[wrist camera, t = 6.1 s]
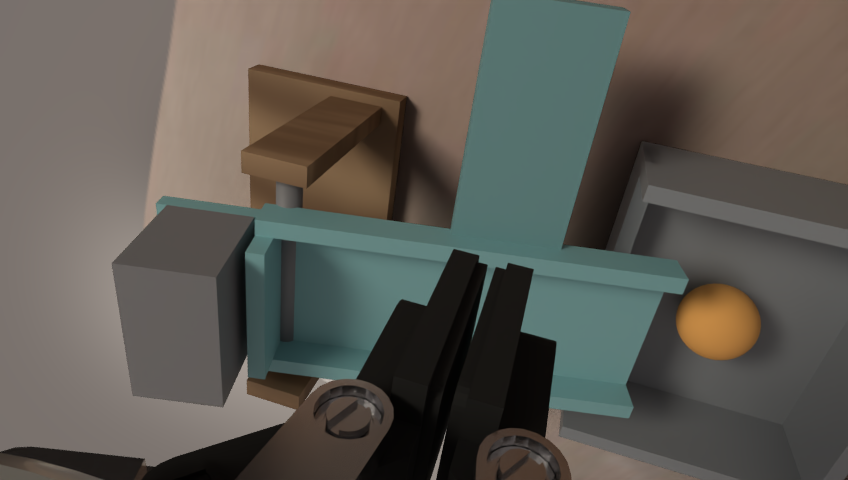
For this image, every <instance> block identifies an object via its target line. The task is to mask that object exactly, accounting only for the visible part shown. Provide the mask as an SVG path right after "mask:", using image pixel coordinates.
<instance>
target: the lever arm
mask: <svg viewBox="0 0 848 480" xmlns="http://www.w3.org/2000/svg"><path fill="white" fill-rule="evenodd" d="M629 15H630V11H628V10H627V9H625V8H623V7H616V6H610V5H603V4H596V3H590V2H583V1H576V0H491V4H490V10H489V15H488V21H487V27H486V32H485V38H484V43H483V49H482V55H481V60H480V66H479V71H478V77H477V83H476V88H475V94H474V99H473V105H472V111H471V116H470V122H469V128H468V133H467V139H466V144H465V150H464V156H463V161H462V167H461V172H460V178H459V184H458V189H457V195H456V201H455V206H454V212H453V217H452V223H451V229H448V228H441V227H434V226H426V225H419V224H412V223H405V222H398V221H390V220H383V219H376V218H369V217H362V216H354V215H347V214H340V213H333V212H326V211H319V210H311V209H304V208H303V188H301V187H297V186H293V185H289V184H285V183H281V182H277V181H276V205H275V204H268V203H265V204H264V206H263V207H262V209H255V208H248V207H240V206H233V205H226V204H219V203H212V202H204V201H197V200H190V199H183V198H176V197H168V196H163V197H162V198H161V199H160V200H159V201H158V202H157V203H156V209H157V216H156V217H155V218H154V219H153V220H152V221H151V222H150V223H149V224H148V225H147V227H146V228H145V229H144V230H143V231H142V232H141V233H140V234H139V235H138V236H137V237H136V238H135V239H134V240H133V241H132V243H130V245H129V246H128V247H127V248H126V249H125V250H124V251H123V252H122V253H121V254H120V255H119V256H118V257H117V258H116V259H115V260H114V262H113V263H112V269H113V275H114V281H115V287H116V293H117V300H118V306H119V312H120V319H121V325H122V331H123V338H124V344H125V350H126V356H127V362H128V369H129V375H130V381H131V388H132V394H133V396H140V397H147V398H155V399H163V400H171V401H178V402H186V403H193V404H201V405H209V406H217V407H223V406H224V404H225V402H226V399H227V397H228V395H229V393H230V391H231V389H232V386H233V384H234V382H235V380H236V378H237V376H238V373H239V371H240V369H241V367H242V365H243V363H244V360H245V358H246V356H247V357H248V377H250V378H257V379H265V378H266V375H267V373H268V371H272V372H279V373H287V374H294V375H302V376H310V377H317V378H325V379H332V380H340V379H356V378H357V376H358V375H359V373H360V371H361V369H362V367H363V366H364V364H365V362H366V360H367V358H368V356H369V355H370V353H371V351H372V349H373V347H374V345H375V344H376V342H377V340H378V338H379V336H380V335H381V333H382V331H383V329H384V327H385V325H386V324H387V322H388V320H389V318H390V316H391V315H392V313H393V311H394V309H395V307H396V305H397V304H398V302H399V301H400V300H401V299H403V300H407V301H411V302H414V303H418V304H422V305H425V306H427V304H428V302H429V300H430V297H431V295H432V293H433V291H434V289H435V287H436V285H437V283H438V281H439V278H440V276H441V274H442V272H443V270H444V268H445V266H446V264H447V261H448V259H449V257H450V255H451V253H452V251H453V249H457V250H460V251H464V252H468V253H472V254H476V255H479V262H480V263H483V264H487V265H488V267H487V272H486V277H485V281H484V286H483V291H482V295H481V300H480V304H479V309H478V313H477V318H476V323H475V327H474V332H475V329H476V326H477V323H478V320H479V317H480V314H481V311H482V307H483V304H484V301H485V298H486V295H487V292H488V289H489V286H490V283H491V280H492V277H493V274H494V271H495V268H496V267H499V268H503V269H506V267H507V264H508V263H512V264H516V265H520V266H524V267H528V268H532V269H534V271H533V276H532V281H531V285H530V290H529V295H528V299H527V304H526V308H525V313H524V318H523V322H522V327H521V332H524V333H528V334H532V335H536V336H539V337H543V338H547V339H550V340H554V341H556V342H557V346H556V355H555V363H554V371H553V379H552V387H551V395H550V403H549V408H553V409H560V410H568V411H576V412H583V413H591V414H598V415H606V416H614V417H621V418H629V417H630V415H631V412H632V410H633V408H634V407H633V404H632V401H631V398H630V396H629V393H628V390H627V387H626V383H627V380H628V378H629V375H630V373H631V371H632V368H633V366H634V363H635V361H636V358H637V356H638V354H639V351H640V349H641V346H642V344H643V342H644V339H645V337H646V334H647V332H648V329H649V327H650V325H651V322H652V320H653V317H654V315H655V312H656V310H657V308H658V305H659V303H660V300H661V298H662V296H663V293H664V292H667V293H675V294H682V295H683V292H684V290H685V288H686V285H687V283H688V281H689V279H688V277H687V276H686V274H685V273H684V271H683V269H682V268H681V266H680V264H679V263H678V261H677V260H671V259H664V258H656V257H649V256H642V255H635V254H628V253H620V252H613V251H606V250H599V249H592V248H585V247H577V246H570V245H563V241H564V238H565V234H566V231H567V228H568V224H569V221H570V217H571V214H572V210H573V207H574V204H575V200H576V197H577V193H578V190H579V186H580V183H581V180H582V176H583V173H584V169H585V166H586V163H587V159H588V156H589V152H590V149H591V145H592V142H593V139H594V135H595V132H596V128H597V125H598V121H599V118H600V115H601V111H602V108H603V104H604V101H605V98H606V94H607V91H608V87H609V84H610V80H611V77H612V74H613V70H614V67H615V63H616V60H617V57H618V53H619V50H620V46H621V43H622V39H623V36H624V33H625V29H626V26H627V22H628V19H629ZM474 332H473V335H474ZM472 338H473V336H472Z"/></svg>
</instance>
